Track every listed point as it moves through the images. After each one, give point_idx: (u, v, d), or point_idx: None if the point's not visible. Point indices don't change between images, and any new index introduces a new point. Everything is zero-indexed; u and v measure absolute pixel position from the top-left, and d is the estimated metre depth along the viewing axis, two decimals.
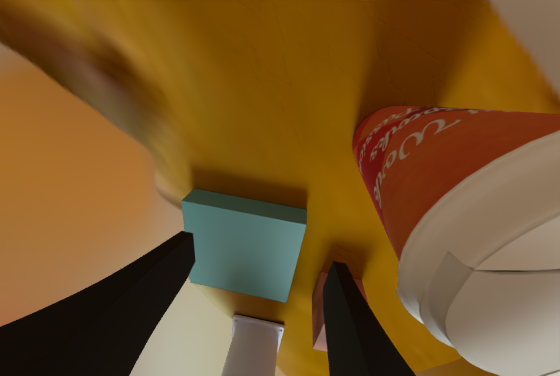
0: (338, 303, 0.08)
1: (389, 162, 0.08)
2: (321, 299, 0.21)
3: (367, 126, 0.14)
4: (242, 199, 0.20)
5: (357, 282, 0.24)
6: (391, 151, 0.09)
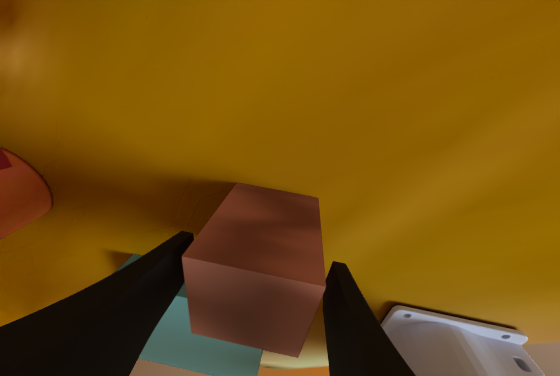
0: (338, 303, 0.08)
1: None
2: None
3: None
4: None
5: None
6: None
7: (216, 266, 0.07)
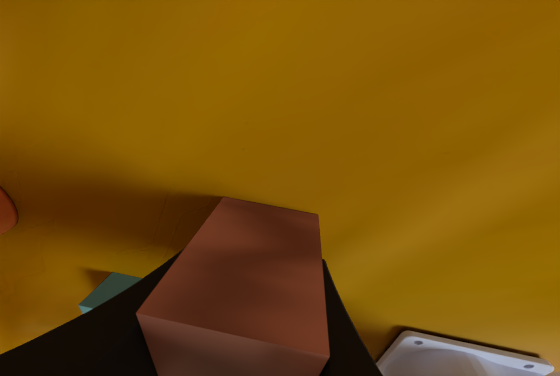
0: None
1: None
2: None
3: None
4: None
5: None
6: None
7: (183, 326, 0.05)
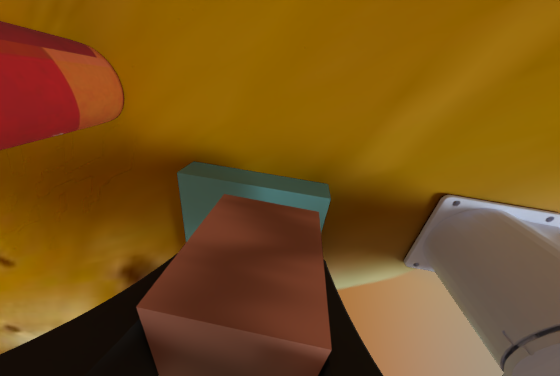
0: None
1: None
2: None
3: None
4: None
5: None
6: None
7: (183, 319, 0.05)
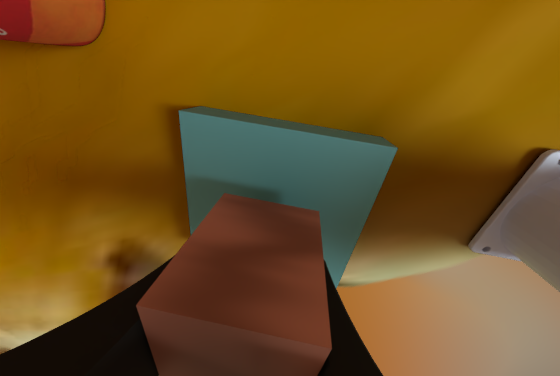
0: None
1: None
2: None
3: None
4: None
5: None
6: None
7: (183, 318, 0.05)
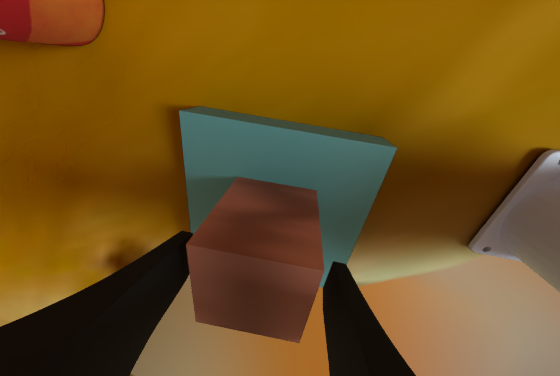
0: (338, 303, 0.08)
1: None
2: None
3: None
4: None
5: None
6: None
7: (219, 253, 0.07)
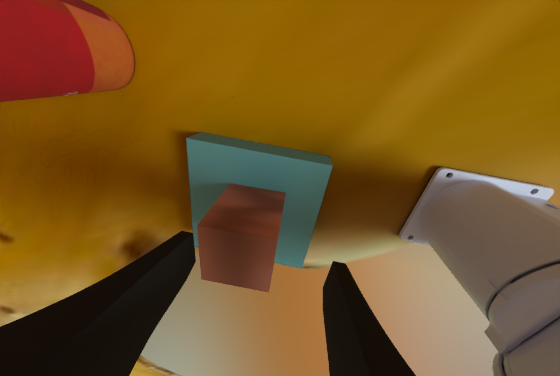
0: (338, 303, 0.08)
1: None
2: None
3: None
4: None
5: None
6: None
7: (216, 231, 0.12)
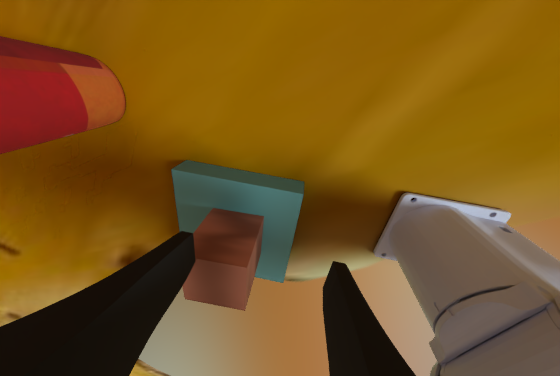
0: (338, 303, 0.08)
1: None
2: None
3: None
4: None
5: None
6: None
7: None
